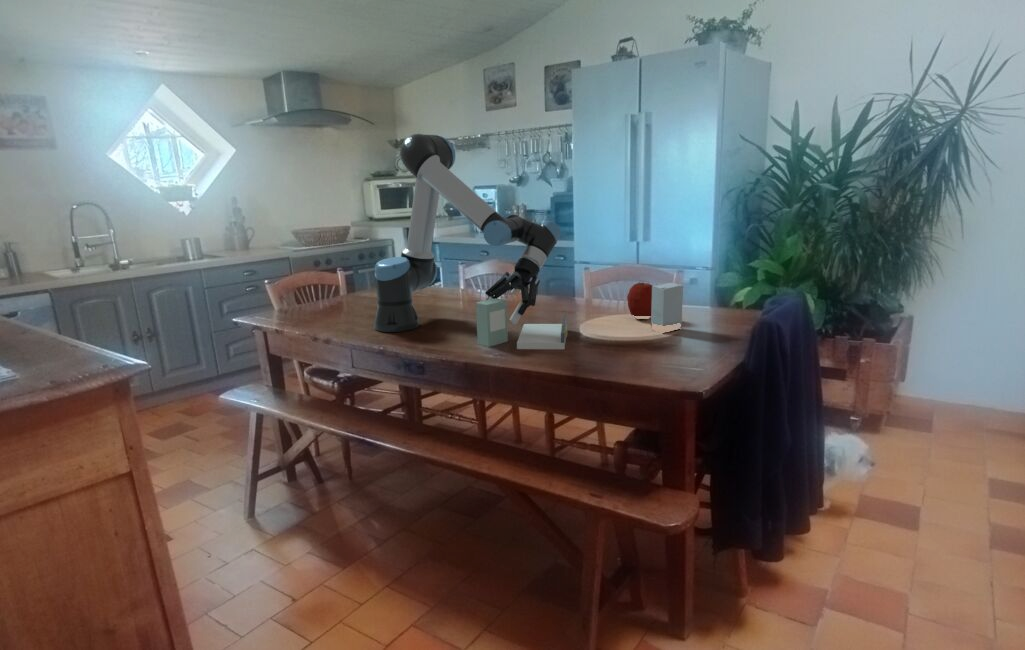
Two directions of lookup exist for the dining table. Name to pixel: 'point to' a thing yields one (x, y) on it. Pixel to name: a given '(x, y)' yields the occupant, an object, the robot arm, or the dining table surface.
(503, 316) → the product carton
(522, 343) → the shelf board
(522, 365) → the dining table surface
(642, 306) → the apple
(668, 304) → the skincare box
